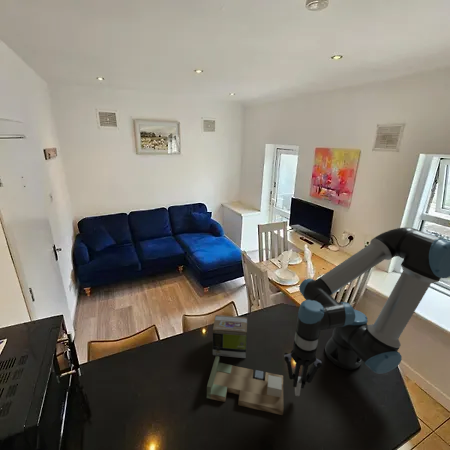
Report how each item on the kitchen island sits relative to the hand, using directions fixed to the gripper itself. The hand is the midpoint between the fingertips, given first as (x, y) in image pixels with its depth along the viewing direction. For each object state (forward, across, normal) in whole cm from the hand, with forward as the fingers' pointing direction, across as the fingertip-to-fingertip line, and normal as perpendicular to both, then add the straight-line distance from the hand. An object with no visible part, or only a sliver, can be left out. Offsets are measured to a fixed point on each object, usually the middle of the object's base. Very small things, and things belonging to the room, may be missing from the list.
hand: (297, 392), depth 95 cm
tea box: (+4, +29, -18) cm, 34 cm away
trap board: (+4, +19, 0) cm, 19 cm away
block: (+4, +14, -5) cm, 16 cm away
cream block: (+1, +8, 0) cm, 8 cm away
